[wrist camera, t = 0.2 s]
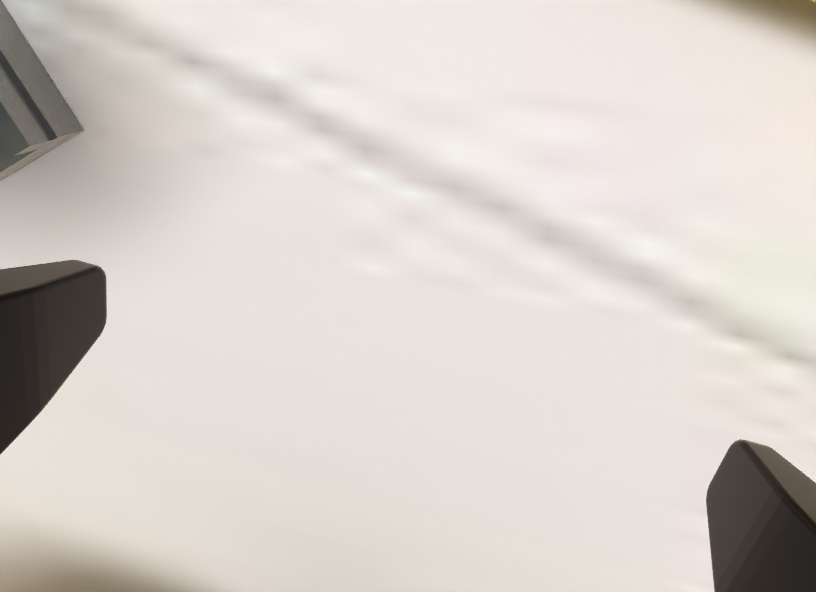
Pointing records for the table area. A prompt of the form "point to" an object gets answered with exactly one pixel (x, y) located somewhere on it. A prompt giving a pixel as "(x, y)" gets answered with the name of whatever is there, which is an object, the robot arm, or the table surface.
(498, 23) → the table surface
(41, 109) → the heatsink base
